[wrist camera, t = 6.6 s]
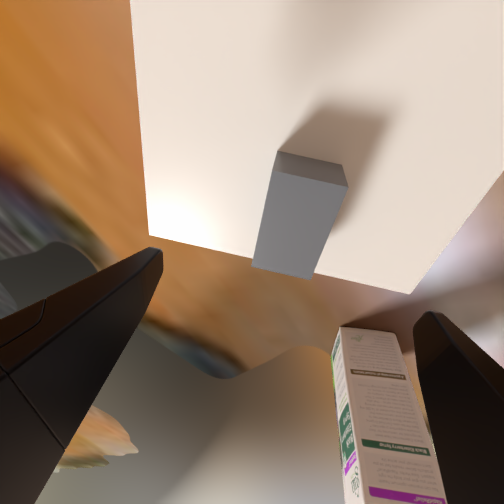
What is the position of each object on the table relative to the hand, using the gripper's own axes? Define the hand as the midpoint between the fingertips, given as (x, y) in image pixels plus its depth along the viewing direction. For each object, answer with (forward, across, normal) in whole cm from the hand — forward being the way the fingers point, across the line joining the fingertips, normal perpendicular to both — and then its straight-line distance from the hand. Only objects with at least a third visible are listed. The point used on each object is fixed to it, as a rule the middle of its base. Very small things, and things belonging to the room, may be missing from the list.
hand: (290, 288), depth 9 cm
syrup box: (+13, -12, +18) cm, 25 cm away
